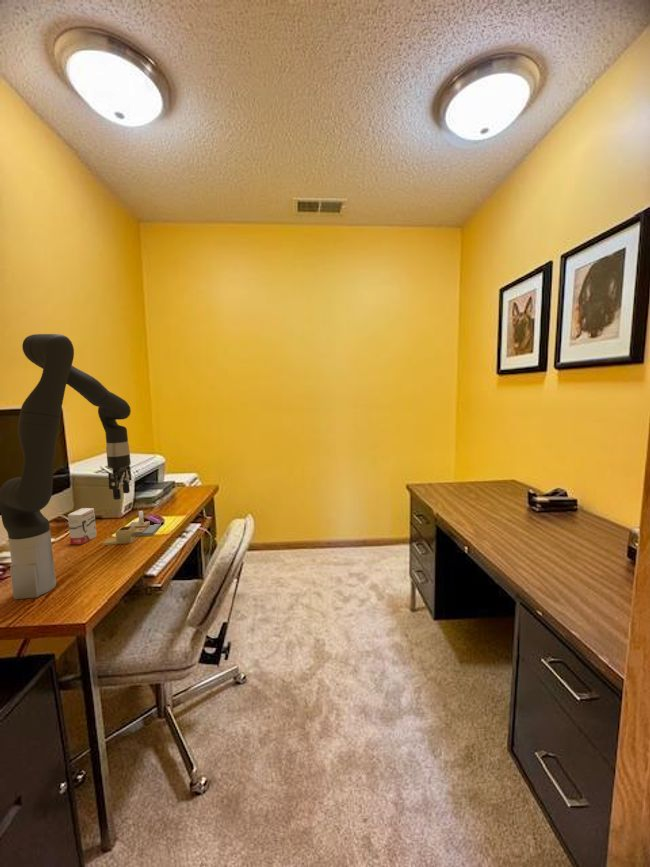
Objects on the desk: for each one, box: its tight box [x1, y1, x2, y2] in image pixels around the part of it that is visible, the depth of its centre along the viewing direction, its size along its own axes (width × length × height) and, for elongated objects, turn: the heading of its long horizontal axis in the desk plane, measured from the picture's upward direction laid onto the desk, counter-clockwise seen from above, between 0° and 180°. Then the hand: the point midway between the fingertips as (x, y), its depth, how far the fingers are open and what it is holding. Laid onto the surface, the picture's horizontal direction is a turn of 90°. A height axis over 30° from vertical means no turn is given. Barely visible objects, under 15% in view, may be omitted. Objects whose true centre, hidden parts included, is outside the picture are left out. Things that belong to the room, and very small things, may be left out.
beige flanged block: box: [102, 525, 137, 546], centre depth 138 cm, size 10×5×5 cm, turn 98°
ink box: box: [67, 507, 98, 546], centre depth 139 cm, size 9×5×12 cm, turn 179°
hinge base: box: [127, 510, 165, 537], centre depth 149 cm, size 14×13×8 cm
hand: (122, 496), depth 136 cm, fingers open, 8 cm apart
